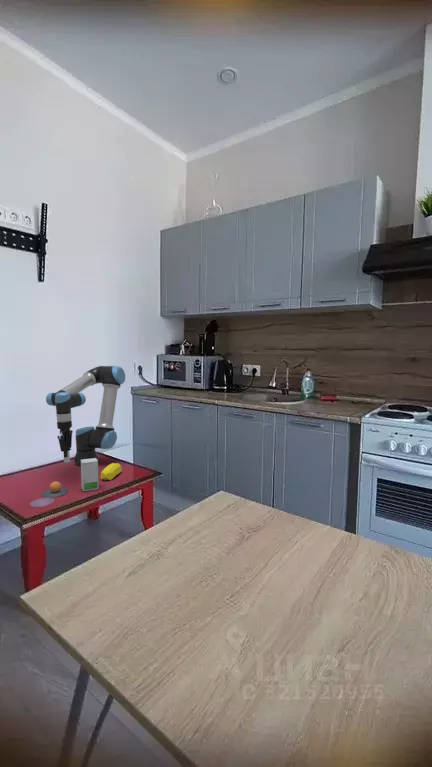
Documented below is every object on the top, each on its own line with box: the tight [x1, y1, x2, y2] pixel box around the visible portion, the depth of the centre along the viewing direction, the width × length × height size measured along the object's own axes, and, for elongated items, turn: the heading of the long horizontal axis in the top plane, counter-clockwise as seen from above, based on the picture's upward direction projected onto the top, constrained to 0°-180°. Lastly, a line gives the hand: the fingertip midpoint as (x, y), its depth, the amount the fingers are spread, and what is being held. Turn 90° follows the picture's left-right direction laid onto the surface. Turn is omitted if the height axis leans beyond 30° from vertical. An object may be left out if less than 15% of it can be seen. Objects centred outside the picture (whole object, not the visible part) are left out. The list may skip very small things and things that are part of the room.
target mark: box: [40, 487, 69, 499], centre depth 193 cm, size 13×13×1 cm
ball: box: [49, 480, 62, 492], centre depth 194 cm, size 6×6×6 cm
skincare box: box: [80, 458, 99, 492], centre depth 198 cm, size 8×7×16 cm
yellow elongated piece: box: [100, 462, 123, 481], centre depth 217 cm, size 18×7×8 cm
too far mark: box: [29, 497, 55, 508], centre depth 181 cm, size 11×11×1 cm
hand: (67, 462), depth 206 cm, fingers closed
